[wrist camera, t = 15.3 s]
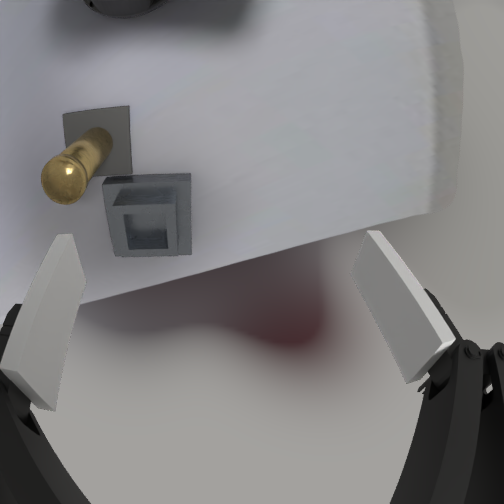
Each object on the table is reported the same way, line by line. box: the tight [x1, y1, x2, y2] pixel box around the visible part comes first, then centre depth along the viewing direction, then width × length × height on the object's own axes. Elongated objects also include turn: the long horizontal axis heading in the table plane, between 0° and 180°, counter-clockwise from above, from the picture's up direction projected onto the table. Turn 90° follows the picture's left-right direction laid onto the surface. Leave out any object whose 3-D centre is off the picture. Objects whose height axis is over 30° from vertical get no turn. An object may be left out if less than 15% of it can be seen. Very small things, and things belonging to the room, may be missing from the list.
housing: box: [102, 174, 192, 257], centre depth 47 cm, size 14×14×6 cm
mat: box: [63, 106, 133, 177], centre depth 39 cm, size 11×11×1 cm
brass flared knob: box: [41, 127, 113, 205], centre depth 34 cm, size 6×6×14 cm
